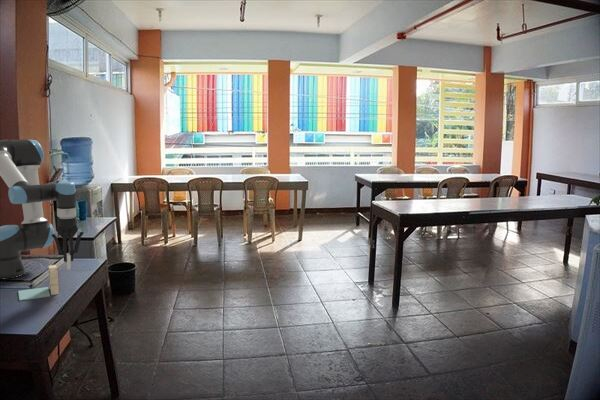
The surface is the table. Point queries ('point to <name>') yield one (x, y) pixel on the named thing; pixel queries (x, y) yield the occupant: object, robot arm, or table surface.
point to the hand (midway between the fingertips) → (68, 268)
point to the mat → (33, 293)
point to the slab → (53, 279)
